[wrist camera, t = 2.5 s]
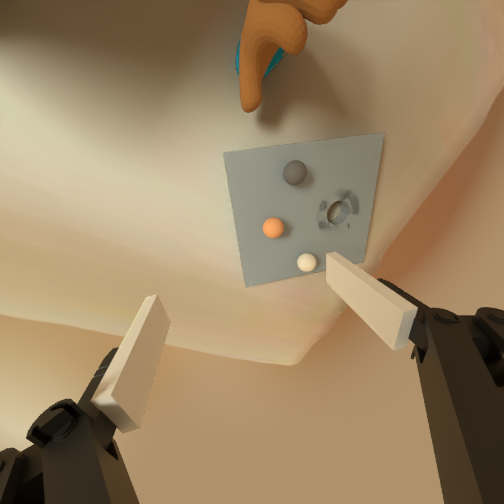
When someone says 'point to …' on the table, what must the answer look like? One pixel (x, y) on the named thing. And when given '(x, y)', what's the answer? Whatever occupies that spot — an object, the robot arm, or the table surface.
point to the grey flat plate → (302, 203)
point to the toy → (274, 39)
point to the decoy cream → (306, 262)
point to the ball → (273, 227)
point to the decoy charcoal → (295, 172)
